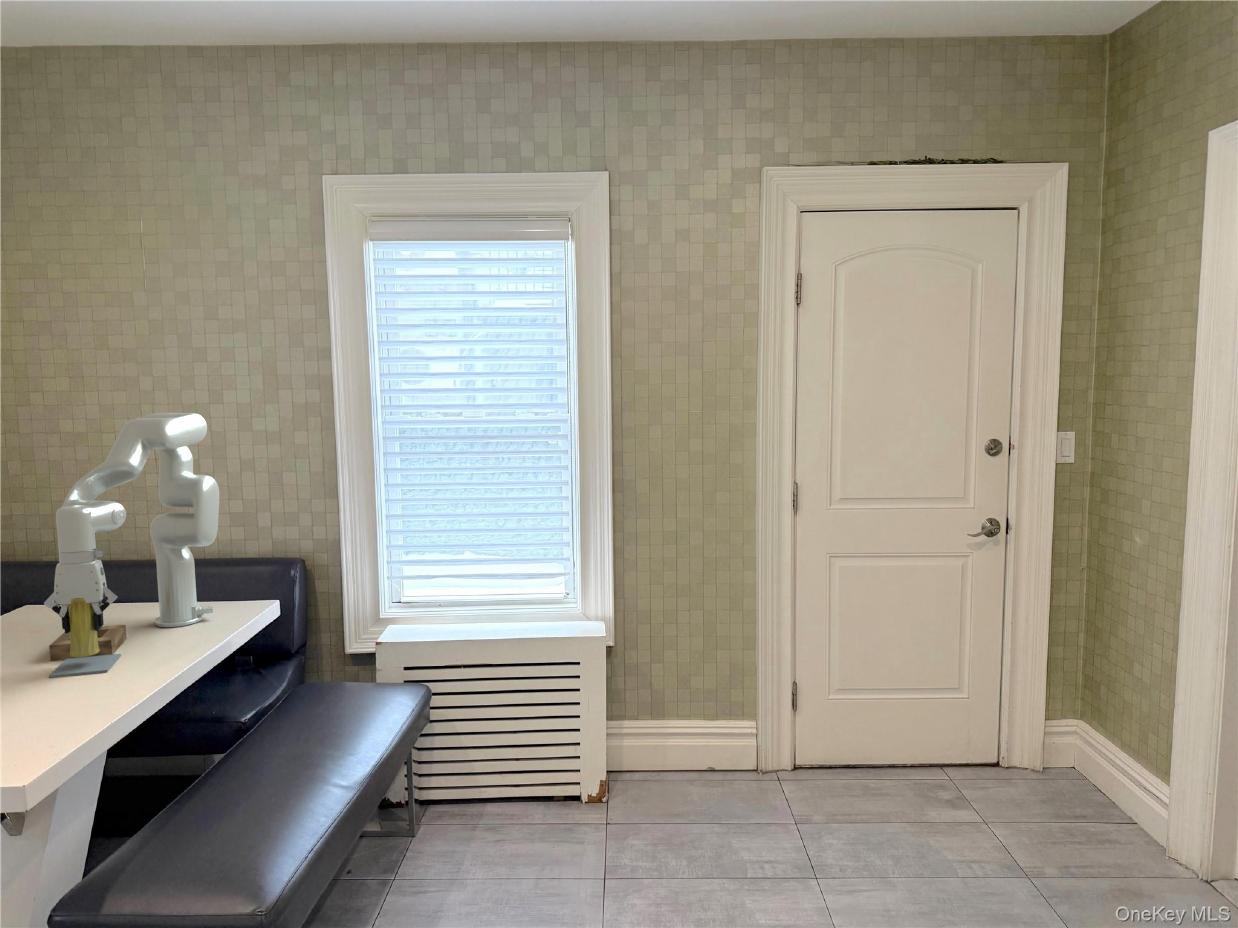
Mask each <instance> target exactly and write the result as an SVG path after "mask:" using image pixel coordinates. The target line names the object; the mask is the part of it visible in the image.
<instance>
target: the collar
mask: <svg viewBox="0 0 1238 928" xmlns="http://www.w3.org/2000/svg"><path fill="white" fill-rule="evenodd" d="M97 638H98V646H99V649H100V651H99V652H98V653H97V654H95V655H92V656H101V655H112V654H116V652H117V651H118V649H120V647H121V646H122V645H123V644H124V642H125V641H126V640H127V625H126V624H117V625H103V626H102V627H101V628H100V629H99V630H98V631H97ZM48 647H49V658H50V659H49V660H50V661H49V662H55V661H56V662H57V661H64V660H65V659H69V658H74V657H71V656H70V632H69V633H65V631H63V633H61V635H59V636H58V637H57V638H56V639H55V640H53V641H52V642H51V643H50V644H49V646H48ZM88 657H90V656H88Z"/></svg>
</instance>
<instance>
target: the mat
mask: <svg viewBox="0 0 1238 928" xmlns="http://www.w3.org/2000/svg"><path fill="white" fill-rule="evenodd" d="M121 657H122V653H114V654H112V655H101V656H90V657H80V658H69V659H65V660H62V662H61V663H60V664H59V665H58V666H57V667H56V668H54V670H53V671H52V672H51V673H50V674H49V675H48V678H49V679H52V678H53V679H54V678H64V677H75V676H85V675H94V674H103V673H104V674H105V673H108V672H109V671H110V670H111V669H112V667H113V666H114V665H116V662H117V661H118V660H119V659H120V658H121Z"/></svg>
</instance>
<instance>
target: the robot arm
mask: <svg viewBox="0 0 1238 928" xmlns="http://www.w3.org/2000/svg"><path fill="white" fill-rule="evenodd" d="M207 431H208V424H207V422H206V419H205V418H204V417H203V416H202V415H201V414H198V413H196V412H155V413H154V412H153V413H150V414H147V415H145V416H143V417H136V418H132V419H130V420H128V421H127V422H126V423H125V424H124V425H123V426H122V428H121V430H120V432H119V434H118V435H117V438H116V440H115V441H114V443H113V445H112V447H111V448H110V451H109V453H108V455H107V457H106V459H105V460H104V461H103V463H101V464H99V465H97V466H95V468H92V470H90V471H89V472H88V473H86V474H85V475H84V476H82V477H81V478H79V479H78V480H77V481H76V482H75V483H74V484H73V485H72V486H71V488H70V490H69V491H68V493H67V495H66V497H65V499H64V501H63V503H62V505H61V507H60V508H58V509H57V510H56V512H55V521H56V524H55V525H56V535H57V536H56V537H57V549H58V563H57V564H56V566H55V573H54V582H53V583H54V586H53V588H54V589H53V590H54V591H53V592H52V593H51V595H50V596H49V597H48V598H47V599H46V600H45V601H44V602H43V605H45V607H47V608H49V609H51V610H52V612H54V613H56V614H57V615H58V617H59V618H60V619H61V627H62V628H61V629H62V630H64V632H65V633H69V632H70V623H69V609H68V605H71V599H82V598H84V599H85V602H86V603H89V604H92V606H93V608H94V610H95V615H94V630H95V631H98V630H99V629H100V628H101V627H102V626H104V611H106V609H107V608H108V607H109V606H110V605H112V604H113V603H114V602H115V601H116V600H117V599H118V595H116V594H115V593H114V592H113V591H111V589H110V588H108V586H107V579H106V574H105V570H104V566H103V561H102V560H101V559H98V558H100V557H103V556H104V551H103V550H98V548H97V544H96V533H98V532H110V531H114V530H117V529H118V528H121V526H122V525H123V524H124V523H125V521H126V520H127V519H126V518H127V511H126V509H125V507H124V506H123V505H122V504H121V503H119V502H118V501H113V500H98V499H97V498H98V497H99V496H100V495H102V493H104V492H106V491H108V490H110V489H113V488H116V487H118V486H122V485H124V484H126V483H129V482H132V481H133V480H135V479H137V478H139V476H140V475H141V473H142V471H143V469H144V466H145V464H146V463H147V461H148V458H149V456H150V454H151V453H152V452H153V451H154V450H155V451H156V452H157V455H158V458H159V459H158V460H159V468H158V469H159V473H158V486H157V487H158V490H157V492H158V495H157V496H158V500H159V502H160V504H161V505H162V506H164V507H167V508H175V509H193V512H164V513H161V514H158V515H157V516H155V517H154V518H153V519H152V521H151V523H150V524H149V525H150V526H149V534H150V538H151V540H152V541H151V542H152V544H153V548H154V553H155V554H154V555H155V563H156V564H155V565H156V578H157V580H156V581H157V591H158V592H157V593H158V608H159V609H158V610H159V616H158V617H156V618H155V619H153V625H155V626H156V627H160V628H176V627H184V626H189V625H193V624H196V623H199V622H201V621H202V620H203V619H204V617H205V616H204V614H208V615H209V614H214V610H215V609H214V608H215V607H214V606H211V605H203V606H202V605H200V603H201V602H200V601H197V599H198V598H197V587H196V586H197V584H196V568H195V567H196V566H195V559H194V555H193V553H192V551H191V550H190V548H189V547H207V546H211V545H212V544H213V543H214V542H215V540H216V538H217V536H218V530H219V513H220V511H219V510H220V489H219V488H220V487H219V484H218V483H217V481H216V480H215V478H214V477H212V476H210V475H207V474H194V456H193V454H192V452H191V450H190V448H189V446H193V445H195V444H198V443H200V442H201V441H203V439H204V438H205V437H206V435H207ZM95 499H97V500H95ZM106 597H107V600H106V601H104V603H102V601H103V599H106Z"/></svg>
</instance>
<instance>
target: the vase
mask: <svg viewBox="0 0 1238 928" xmlns="http://www.w3.org/2000/svg"><path fill="white" fill-rule="evenodd" d="M68 609H69V623H70V656H71V657H74V658H80V657H88V656H92V655H95V654H97V653H98V652H99V651H100V649H99V646H98V638H97V631H95V630H94V615H95V610H94V608H93V606H92V604H89V603H86V602H85V599H84V598H82V599H71V605H68Z"/></svg>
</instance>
